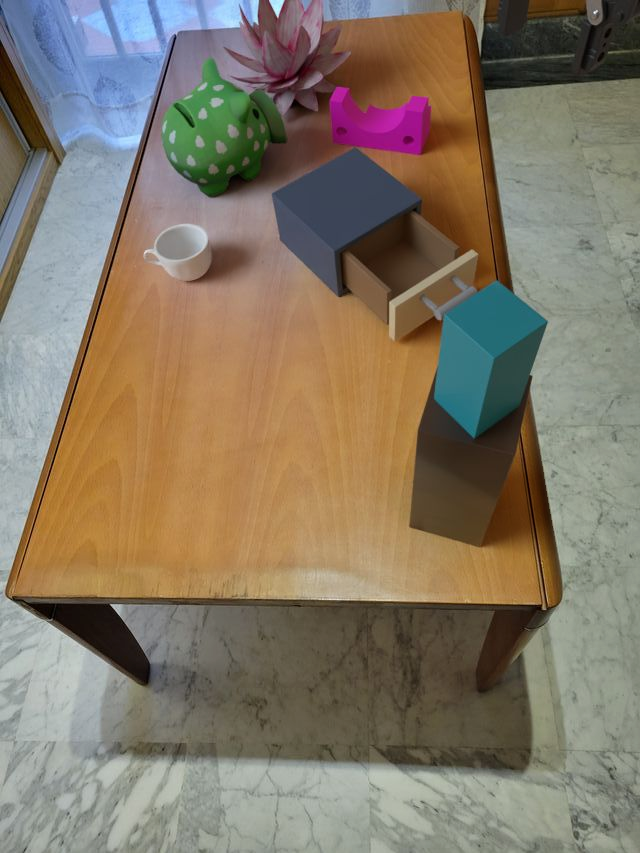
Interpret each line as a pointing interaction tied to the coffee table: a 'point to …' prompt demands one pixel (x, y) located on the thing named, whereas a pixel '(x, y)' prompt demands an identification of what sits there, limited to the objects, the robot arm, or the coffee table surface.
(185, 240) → the teacup
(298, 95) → the decorative flower
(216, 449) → the coffee table surface
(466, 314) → the block
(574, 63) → the robot arm
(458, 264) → the drawer
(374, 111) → the toy block
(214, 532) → the coffee table surface
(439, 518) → the stand
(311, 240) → the cabinet
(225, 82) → the piggy bank
